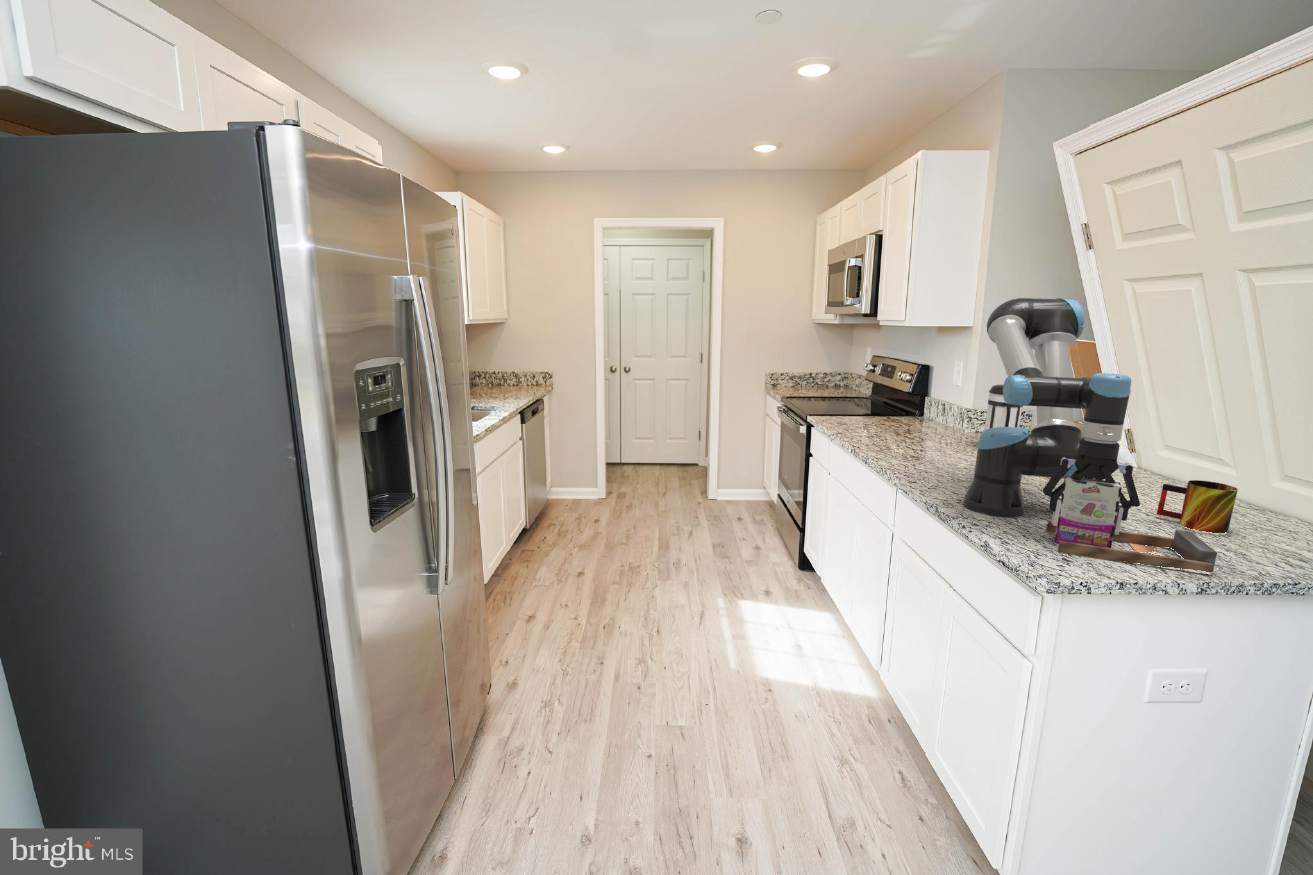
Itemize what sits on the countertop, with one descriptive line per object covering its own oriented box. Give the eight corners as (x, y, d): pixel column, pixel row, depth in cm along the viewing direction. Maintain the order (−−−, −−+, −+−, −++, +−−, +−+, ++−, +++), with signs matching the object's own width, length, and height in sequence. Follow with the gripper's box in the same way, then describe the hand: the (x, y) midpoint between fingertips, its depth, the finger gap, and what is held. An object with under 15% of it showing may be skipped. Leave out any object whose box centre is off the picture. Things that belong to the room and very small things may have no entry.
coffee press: (967, 448, 250) (977, 376, 244) (997, 446, 255) (1007, 376, 249) (1002, 457, 234) (1013, 381, 228) (1033, 455, 239) (1045, 381, 232)
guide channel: (1058, 552, 139) (1062, 532, 138) (1046, 530, 154) (1049, 511, 153) (1214, 576, 128) (1219, 554, 127) (1185, 549, 143) (1189, 530, 141)
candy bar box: (1109, 547, 143) (1121, 481, 140) (1110, 553, 139) (1123, 486, 136) (1053, 536, 149) (1064, 473, 146) (1053, 542, 145) (1064, 478, 142)
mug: (1154, 517, 166) (1163, 476, 164) (1219, 526, 160) (1229, 483, 158) (1165, 528, 158) (1174, 484, 155) (1233, 537, 152) (1244, 492, 149)
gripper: (1043, 437, 140) (1029, 524, 145) (1170, 449, 131) (1150, 542, 135) (1037, 432, 147) (1024, 515, 151) (1158, 442, 137) (1140, 531, 142)
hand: (1084, 528), depth 143 cm, fingers closed on candy bar box, 11 cm apart
